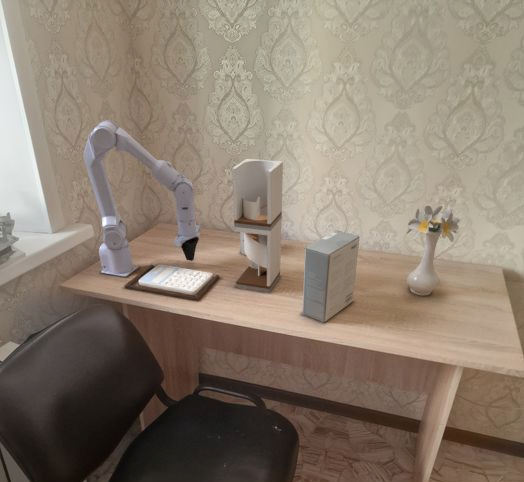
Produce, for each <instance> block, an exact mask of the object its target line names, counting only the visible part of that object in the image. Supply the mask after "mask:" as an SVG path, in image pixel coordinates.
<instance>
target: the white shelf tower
mask: <svg viewBox="0 0 524 482" xmlns="http://www.w3.org/2000/svg"><path fill="white" fill-rule="evenodd" d="M231 170H232V171H231V172H232V194H233V195H232V200H233V201H232V202H233V224H234V225H233V230H234V232H235V233H240V232H242V233H244V250H245V254H246V255H245V256H246V257H247V258H248V259H249V260H250V266H249V265H248V266H247V268H246V269H245V270H244V271H243V272H242V274H240V276H239V278H237V280H236V281H235V283H236V288H237V289H244V290H251V291H256V292H262V293H263V292H264V293H271V291H272V290H273V288H274V287H275V286H276V283H278V281H279V279H280V278H281V262H282V261H281V260H282V259H281V258H282V255H281V254H282V222H283V221H282V216H283V181H284V180H283V178H284V177H283V175H284V174H283V173H284V171H283V170H284V161H281V160H267V159H258V158H257V159H256V158H255V159H254V158H253V159H252V158H246V159H244V160H242V161H241V162H239V163H238V164H236V165H235V166H234V167H232V168H231Z"/></svg>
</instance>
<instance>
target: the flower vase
mask: <svg viewBox="0 0 524 482" xmlns="http://www.w3.org/2000/svg"><path fill="white" fill-rule="evenodd" d="M442 209H443V206H442V205H440V206H437V207H436V208H435V209H434V210H433V208H432V206H431V205H426V206H425V207H424V210H423V211H424V212H423V211H422V210H420V207H419V208H418V207H417V209H416V212H415V218H412V219H410V220H409V222H408V228H409V229H408V230H407V232H406V234H409V233H410V232H412V231H415V232H414V233H413V235H412V239H413V240H415V239H417V237H419V236H420V235H421V234H425V244H424V248H423V252H422V256H421V259H420V262H419V263H418V265H417V267H416V268H415V269H413V270H411V272H409V274H407V277H406V284H407V286H408V287H409V290H410V292H411V293H412V294H414V295H416V296H421V297H423V296H429V295H431V294H432V292H433V291H435V290H436V289H438V287H439V286H440V278H439V276H438V273H436V271H435V269H434V260H435V259H434V258H435V253H436V248H437V245H438V241H439V239H440V237H441V238H442V239H446V237H447V238H448V240H449V241H450V242H451V243H453V242H454V235H453V233H454V234H457V233H458V232H457V231H458V229H459V225H458V223H460V221H461V219H460V218H459V217H457V216H454V214H453V207H452V206H448V207H447V208H446V209H444V210H443V213H442V212H441V211H442ZM429 224H430V225H431V226H432V227H431V226H429Z"/></svg>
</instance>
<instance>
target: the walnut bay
mask: <svg viewBox="0 0 524 482" xmlns="http://www.w3.org/2000/svg"><path fill="white" fill-rule="evenodd" d="M153 268H155V265H154V264H150V265H149V266H148V267H146V268H145V269H144V270H142V271H141V272H140V273H139V274H137V275H136V276H135V277H133V278H132V279H131V280H129V281H128V282H127V283H126V284H124V285H123V286H124V289H127V290H131V291H138V292H144V293H149V294H155V295H160V296H167V297H172V298H178V299H183V300H190V301H195V302H198V301H200V299H202V298H203V296H204V295H206V293H207V292H208V291H209V290H210V289H211V288H212V287H213V286H214V284H216V282H218V281H219V279H220V277H221V276H220V275H219V274H216V275H215V276H213V278H212V279H211V280H210V281H209V282H208V283H207V284H206V285H205V286H204V287H203V288H202V289H201V290H200V291H199V292H198V293H197V294H196V295H189V294H184V293H178V292H173V291H167V290H162V289H157V288H151V287H146V286H140V285H135V284H136V283H137V282H139V279H140V278H142V277H143V276H144V275H146V274H147V273H148V272H150V271H151V270H152V269H153Z"/></svg>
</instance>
